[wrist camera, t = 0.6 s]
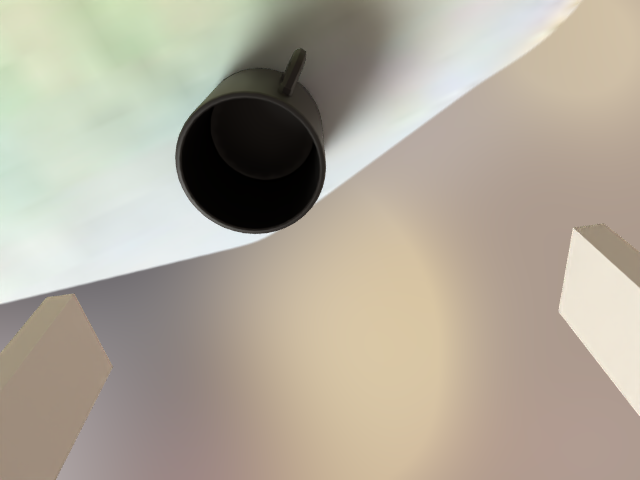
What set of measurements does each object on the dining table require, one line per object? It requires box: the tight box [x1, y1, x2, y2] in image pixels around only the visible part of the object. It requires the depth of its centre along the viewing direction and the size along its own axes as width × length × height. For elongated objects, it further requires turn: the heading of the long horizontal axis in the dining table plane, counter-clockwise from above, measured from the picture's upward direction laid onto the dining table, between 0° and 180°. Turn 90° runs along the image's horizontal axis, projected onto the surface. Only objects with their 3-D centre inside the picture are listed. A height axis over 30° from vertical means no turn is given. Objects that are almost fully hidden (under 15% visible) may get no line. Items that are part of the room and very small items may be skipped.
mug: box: [175, 48, 326, 234], centre depth 31 cm, size 9×12×9 cm
